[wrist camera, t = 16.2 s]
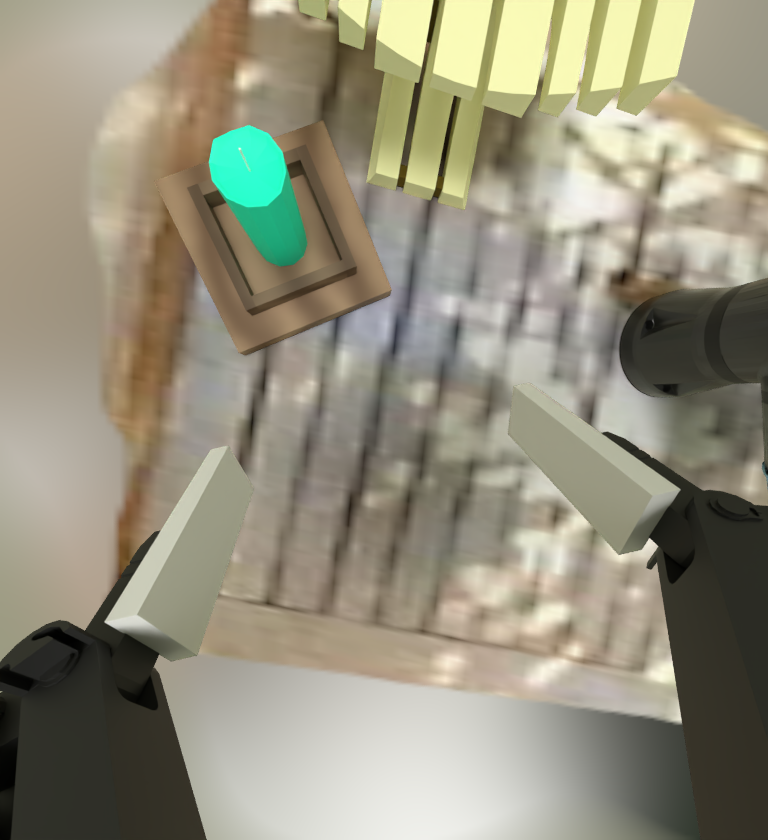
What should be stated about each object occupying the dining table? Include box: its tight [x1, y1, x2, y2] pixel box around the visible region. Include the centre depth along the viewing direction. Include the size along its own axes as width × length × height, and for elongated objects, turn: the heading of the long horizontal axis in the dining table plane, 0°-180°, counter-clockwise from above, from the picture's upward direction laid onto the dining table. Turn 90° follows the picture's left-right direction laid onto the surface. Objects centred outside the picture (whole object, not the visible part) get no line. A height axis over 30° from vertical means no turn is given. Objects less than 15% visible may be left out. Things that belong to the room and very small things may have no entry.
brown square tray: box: [154, 120, 392, 355], centre depth 32 cm, size 20×20×4 cm
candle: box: [209, 125, 308, 267], centre depth 26 cm, size 6×6×12 cm
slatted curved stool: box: [298, 0, 695, 210], centre depth 26 cm, size 30×16×18 cm, turn 80°
